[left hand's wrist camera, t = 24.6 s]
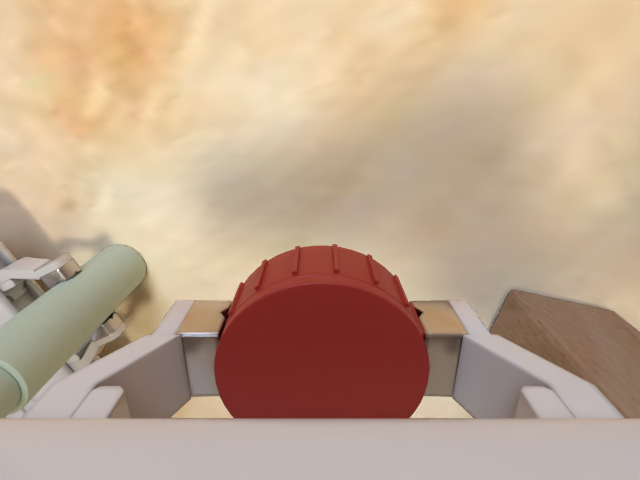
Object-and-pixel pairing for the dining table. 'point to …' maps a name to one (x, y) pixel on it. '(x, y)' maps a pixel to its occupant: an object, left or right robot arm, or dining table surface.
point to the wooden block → (577, 343)
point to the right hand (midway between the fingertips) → (94, 294)
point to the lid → (321, 340)
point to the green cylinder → (62, 323)
